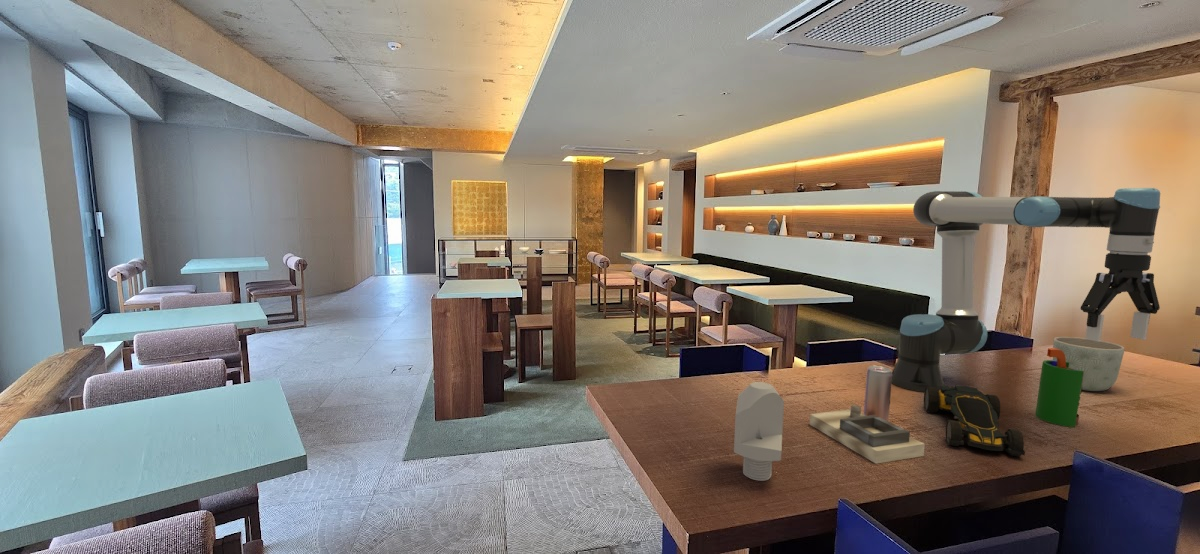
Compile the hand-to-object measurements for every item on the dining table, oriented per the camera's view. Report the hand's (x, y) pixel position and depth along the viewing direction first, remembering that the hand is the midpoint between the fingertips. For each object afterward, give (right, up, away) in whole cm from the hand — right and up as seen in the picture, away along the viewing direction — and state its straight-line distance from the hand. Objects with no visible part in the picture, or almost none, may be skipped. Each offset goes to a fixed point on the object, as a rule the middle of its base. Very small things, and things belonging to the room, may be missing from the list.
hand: (1115, 339), depth 122 cm
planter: (+35, -22, +44) cm, 60 cm away
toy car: (-29, -26, +9) cm, 40 cm away
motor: (+1, -25, +17) cm, 30 cm away
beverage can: (-51, -25, +14) cm, 59 cm away
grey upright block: (-93, -28, -14) cm, 98 cm away
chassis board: (-60, -26, +3) cm, 66 cm away
